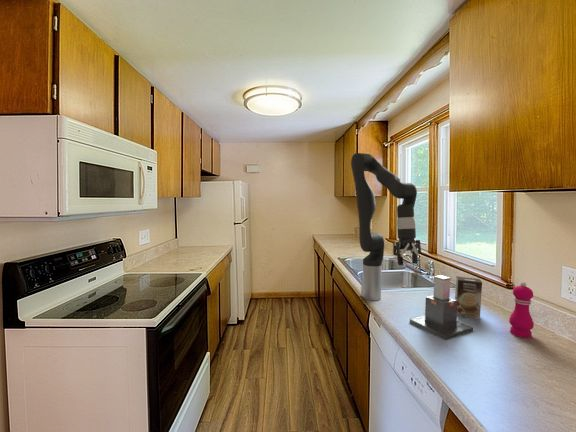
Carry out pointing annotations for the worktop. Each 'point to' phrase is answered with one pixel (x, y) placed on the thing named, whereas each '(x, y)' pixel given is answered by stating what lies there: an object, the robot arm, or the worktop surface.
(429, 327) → the grey square socket base
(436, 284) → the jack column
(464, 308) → the coffee box
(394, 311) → the worktop surface
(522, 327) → the pepper mill
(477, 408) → the worktop surface
